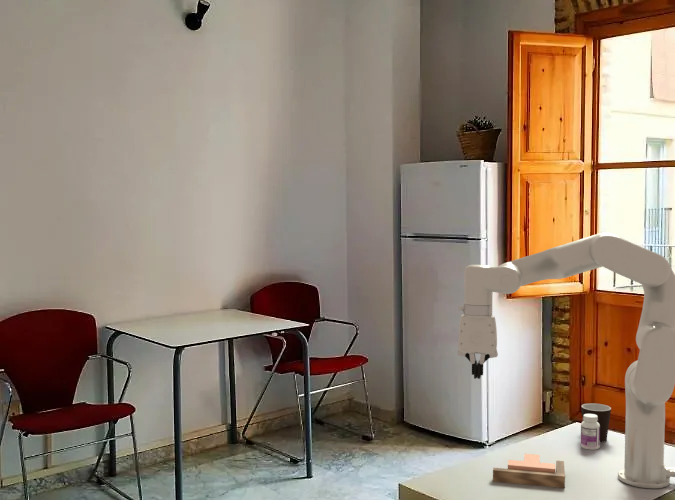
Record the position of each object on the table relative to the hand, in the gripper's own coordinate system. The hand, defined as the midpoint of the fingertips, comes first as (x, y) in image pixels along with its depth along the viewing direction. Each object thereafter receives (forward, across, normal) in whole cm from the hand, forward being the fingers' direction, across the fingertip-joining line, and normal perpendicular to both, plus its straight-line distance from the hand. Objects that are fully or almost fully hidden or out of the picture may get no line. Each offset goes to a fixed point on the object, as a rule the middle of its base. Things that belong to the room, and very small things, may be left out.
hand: (477, 377), depth 209 cm
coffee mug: (+25, +33, +37) cm, 56 cm away
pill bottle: (+25, +31, +27) cm, 48 cm away
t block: (+25, +15, -2) cm, 29 cm away
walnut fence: (+25, +14, -2) cm, 29 cm away
